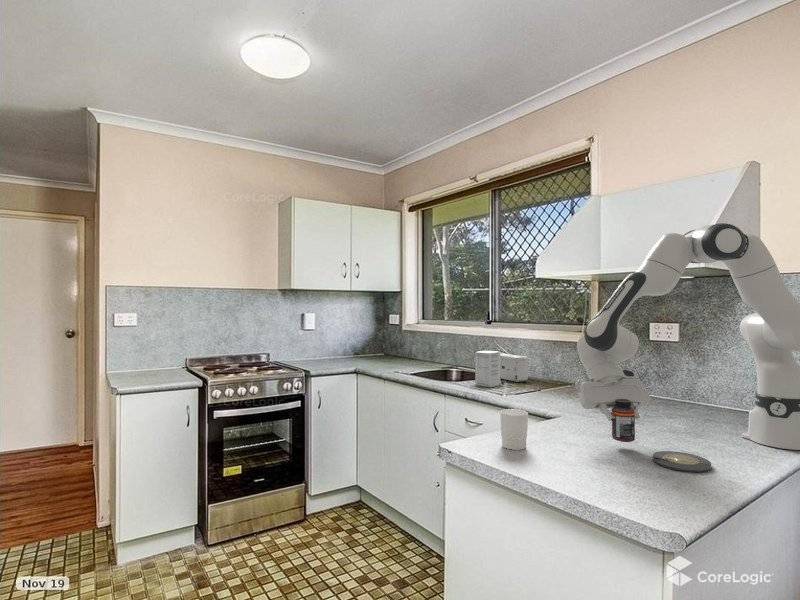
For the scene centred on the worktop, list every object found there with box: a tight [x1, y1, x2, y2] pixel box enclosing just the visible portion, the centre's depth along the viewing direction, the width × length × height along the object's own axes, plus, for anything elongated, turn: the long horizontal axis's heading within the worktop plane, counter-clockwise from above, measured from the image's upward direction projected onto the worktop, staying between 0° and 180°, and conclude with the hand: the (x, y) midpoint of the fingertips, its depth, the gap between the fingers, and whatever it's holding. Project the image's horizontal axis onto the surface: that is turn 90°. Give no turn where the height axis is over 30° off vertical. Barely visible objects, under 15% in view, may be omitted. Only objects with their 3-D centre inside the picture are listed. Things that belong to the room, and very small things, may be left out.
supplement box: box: [474, 350, 502, 388], centre depth 235 cm, size 10×9×17 cm
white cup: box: [499, 408, 529, 451], centre depth 136 cm, size 8×8×10 cm
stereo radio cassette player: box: [493, 340, 529, 383], centre depth 253 cm, size 21×8×20 cm, turn 30°
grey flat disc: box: [652, 450, 712, 474], centre depth 121 cm, size 13×13×1 cm
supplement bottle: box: [611, 399, 636, 443], centre depth 134 cm, size 6×6×11 cm
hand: (624, 419), depth 133 cm, fingers closed on supplement bottle, 6 cm apart
